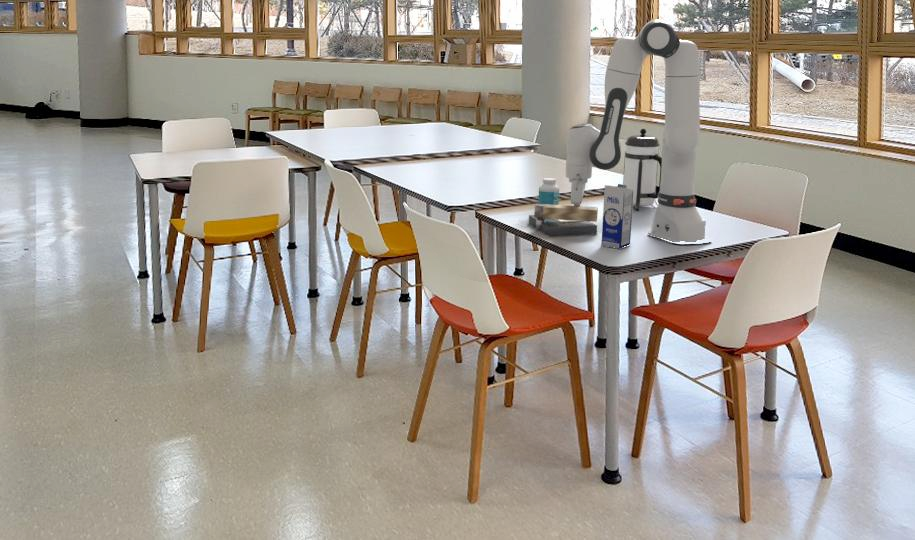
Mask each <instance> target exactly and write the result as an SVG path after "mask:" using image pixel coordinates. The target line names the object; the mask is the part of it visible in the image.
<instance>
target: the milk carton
mask: <svg viewBox="0 0 915 540" xmlns="http://www.w3.org/2000/svg"><path fill="white" fill-rule="evenodd" d="M603 192H604V195H603V209H602V210H603V211H602V228H601V230H602V231H601V245H600V246H601V247H605V246H609V247H608V248H610V247H615V248H622V247H624V246H627V245H629V244H630V245H631V238H632V237H631V236H632V235H631V234H632V233H631V232H632V221H633V220H632V219H633V218H632V217H633V208H634V206H633V192H634V191H633V190H631V189H628V188H626V185H624V184H623V183H622V184H621V183H617V186H616V185H615V186H614V185H606V184H605V185H604V191H603ZM602 245H603V246H602ZM615 248H614V249H615ZM622 249H623V248H622Z"/></svg>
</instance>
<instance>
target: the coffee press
mask: <svg viewBox="0 0 915 540" xmlns="http://www.w3.org/2000/svg"><path fill="white" fill-rule="evenodd" d="M639 132H640V134H633V135H630V136H628V137H627V139H626V141H625V142H624V144H625V151H624V164H623V165H624V166H623V169H624V170H623V176H622V177H623V178H622V179H623V180H622V185H626V188H628V189H631V190H633V191H634V192H633V207H635V211H636V212H640V207H649V206H651V207H652V208H654V209H655V208H656V207H657V206H658V202H656V199H658V193H659V192H660V183H661V168H662V156H659V147H660V146H661V143H660V141H659V139H658V138H657V137H656V136H653V135H649V134H646V133H647V130H646V129H645V128H641V129H640V130H639ZM658 166H659V183H658V191H657V190H656V189H657V182H658V181H657V180H658V179H657V178H658V176H657V175H658ZM654 203H655V205H656V207H655V206H654Z"/></svg>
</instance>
